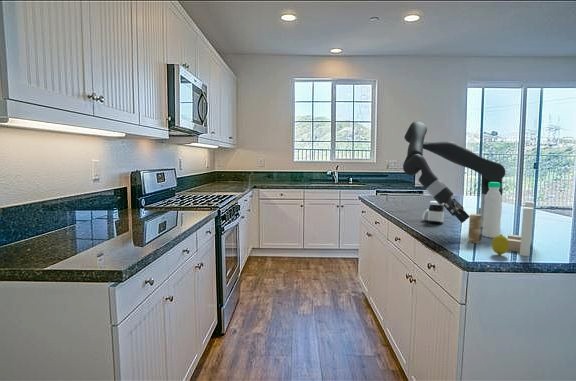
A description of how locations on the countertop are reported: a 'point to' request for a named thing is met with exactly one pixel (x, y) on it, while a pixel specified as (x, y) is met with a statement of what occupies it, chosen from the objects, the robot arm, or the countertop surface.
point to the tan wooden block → (475, 228)
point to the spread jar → (434, 213)
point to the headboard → (523, 232)
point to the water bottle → (492, 211)
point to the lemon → (500, 244)
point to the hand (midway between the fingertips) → (466, 219)
